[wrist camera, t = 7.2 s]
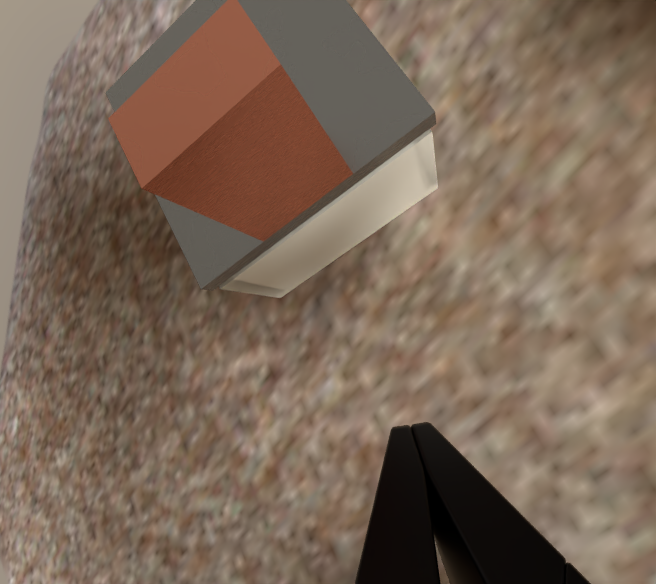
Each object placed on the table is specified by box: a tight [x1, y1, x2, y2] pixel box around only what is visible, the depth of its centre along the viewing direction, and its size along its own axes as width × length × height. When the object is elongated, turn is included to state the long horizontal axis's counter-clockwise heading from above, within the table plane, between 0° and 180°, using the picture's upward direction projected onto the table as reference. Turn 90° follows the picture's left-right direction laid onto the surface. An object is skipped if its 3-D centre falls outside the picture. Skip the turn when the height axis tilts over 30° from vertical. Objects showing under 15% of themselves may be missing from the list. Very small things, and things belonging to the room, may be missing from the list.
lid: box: [106, 0, 436, 291], centre depth 13 cm, size 12×11×7 cm
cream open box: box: [219, 129, 438, 298], centre depth 19 cm, size 12×11×6 cm
